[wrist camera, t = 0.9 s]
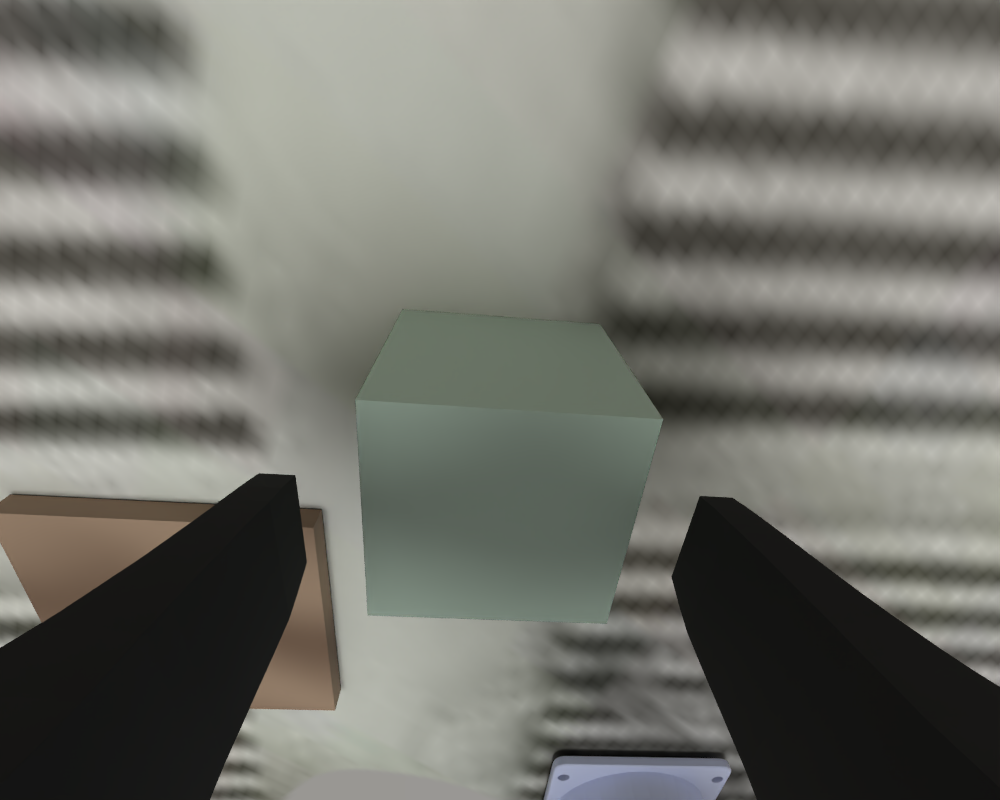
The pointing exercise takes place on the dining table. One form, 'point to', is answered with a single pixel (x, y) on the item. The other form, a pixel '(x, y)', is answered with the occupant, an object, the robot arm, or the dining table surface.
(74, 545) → the walnut board
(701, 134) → the dining table surface
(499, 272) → the dining table surface
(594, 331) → the green cube
